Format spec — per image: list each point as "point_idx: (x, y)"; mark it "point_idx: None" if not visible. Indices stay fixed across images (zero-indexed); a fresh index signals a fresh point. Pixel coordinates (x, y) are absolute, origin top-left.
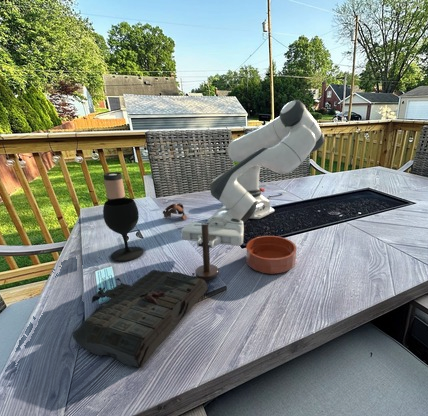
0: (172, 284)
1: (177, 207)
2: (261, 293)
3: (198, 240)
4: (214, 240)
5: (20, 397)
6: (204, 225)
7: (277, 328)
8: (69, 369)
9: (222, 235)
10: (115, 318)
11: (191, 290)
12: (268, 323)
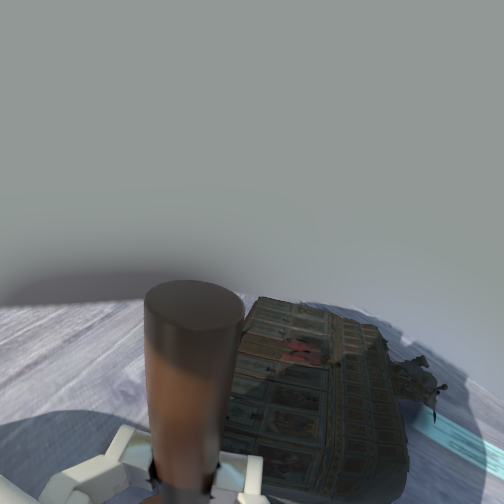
0: (283, 392)
1: None
2: (4, 408)
3: (257, 471)
4: (102, 455)
5: (352, 310)
6: (194, 284)
7: (32, 326)
8: None
9: (14, 486)
10: (335, 324)
11: None
12: (40, 337)
